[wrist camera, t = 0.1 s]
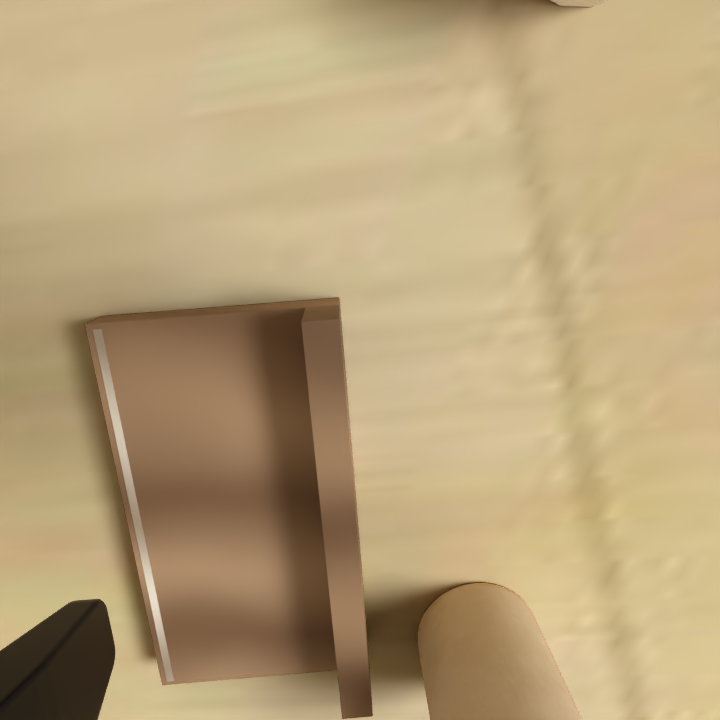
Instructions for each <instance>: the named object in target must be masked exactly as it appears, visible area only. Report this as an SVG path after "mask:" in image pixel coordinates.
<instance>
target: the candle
mask: <svg viewBox="0 0 720 720" xmlns="http://www.w3.org/2000/svg"><path fill="white" fill-rule="evenodd" d="M418 649H419V656H420V662H421V668H422V674H423V680H424V685H425V691H426V697H427V703H428V708H429V714H430V720H583V719H582V717H581V715H580V713H579V711H578V709H577V706H576V704H575V702H574V700H573V698H572V696H571V694H570V691H569V689H568V687H567V685H566V683H565V681H564V678H563V676H562V674H561V672H560V670H559V668H558V666H557V663H556V661H555V659H554V657H553V655H552V653H551V651H550V648H549V646H548V644H547V642H546V640H545V638H544V635H543V633H542V631H541V629H540V627H539V625H538V623H537V621H536V619H535V617H534V615H533V613H532V611H531V610H530V608H529V607H528V606H527V604H526V603H525V602H524V600H523V599H522V598H521V597H520V596H519V595H517V594H516V593H514V592H513V591H511V590H509V589H507V588H505V587H502V586H499V585H495V584H489V583H473V584H467V585H462V586H459V587H456V588H454V589H451V590H449V591H447V592H446V593H444V594H442V595H441V596H440V597H438V598H437V599H436V600H435V601H434V602H433V603H432V604H431V605H430V606H429V607H428V608H427V610H426V611H425V613H424V615H423V616H422V619H421V621H420V624H419V629H418Z"/></svg>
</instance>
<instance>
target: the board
mask: <svg viewBox="0 0 720 720" xmlns="http://www.w3.org/2000/svg"><path fill="white" fill-rule="evenodd" d="M85 327H86V332H87V337H88V341H89V346H90V351H91V355H92V360H93V365H94V369H95V374H96V379H97V383H98V388H99V393H100V397H101V402H102V407H103V411H104V416H105V421H106V425H107V430H108V435H109V439H110V444H111V449H112V453H113V458H114V463H115V467H116V472H117V477H118V481H119V486H120V491H121V495H122V500H123V505H124V509H125V514H126V519H127V523H128V528H129V533H130V537H131V542H132V547H133V551H134V556H135V561H136V565H137V570H138V575H139V579H140V584H141V589H142V593H143V598H144V603H145V607H146V612H147V617H148V621H149V626H150V631H151V635H152V640H153V645H154V649H155V654H156V659H157V663H158V668H159V673H160V677H161V682H162V685H170V684H181V683H193V682H204V681H216V680H227V679H239V678H251V677H262V676H274V675H285V674H297V673H308V672H320V671H332V670H337V673H338V683H339V692H340V702H341V712H342V719H346V718H358V717H369V716H373V714H372V698H371V683H370V667H369V652H368V637H367V625H366V613H365V601H364V589H363V577H362V565H361V553H360V541H359V528H358V516H357V504H356V492H355V480H354V468H353V456H352V444H351V432H350V420H349V408H348V396H347V384H346V371H345V359H344V347H343V335H342V323H341V311H340V299H339V298H328V299H315V300H302V301H289V302H276V303H263V304H250V305H237V306H224V307H211V308H198V309H185V310H172V311H160V312H147V313H134V314H121V315H108V316H101V317H99V318H97V319H95V320H93V321H91V322H89V323H87V324H85Z"/></svg>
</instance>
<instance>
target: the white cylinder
mask: <svg viewBox="0 0 720 720" xmlns="http://www.w3.org/2000/svg"><path fill="white" fill-rule="evenodd" d="M550 1H552V2H554V3H556V4H558V5H559V6H583V7H593V6H595V5H598V4H600V3H602V2H605V1H607V0H550Z"/></svg>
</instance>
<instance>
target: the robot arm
mask: <svg viewBox="0 0 720 720" xmlns="http://www.w3.org/2000/svg"><path fill="white" fill-rule="evenodd" d="M114 660H115V645H114V640H113V635H112V630H111V626H110V621H109V616H108V612H107V608H106V605H105V603H104V602H103V601H101V600H100V599H91V600H77V601H72V602H70V603H68V604H67V605H65V606H64V607H62V608H61V609H60V610H58V611H57V612H55V613H54V614H52V615H51V616H49V617H48V618H47V619H45V620H44V621H42V622H41V623H39V624H38V625H37V626H35V627H34V628H32V629H31V630H29V631H28V632H27V633H25V634H24V635H22V636H21V637H19V638H18V639H17V640H15V641H14V642H12V643H11V644H9V645H8V646H6V647H5V648H4V649H2V650H1V651H0V720H98V716H99V713H100V710H101V706H102V703H103V700H104V696H105V693H106V689H107V686H108V683H109V679H110V676H111V673H112V669H113V665H114Z"/></svg>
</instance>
